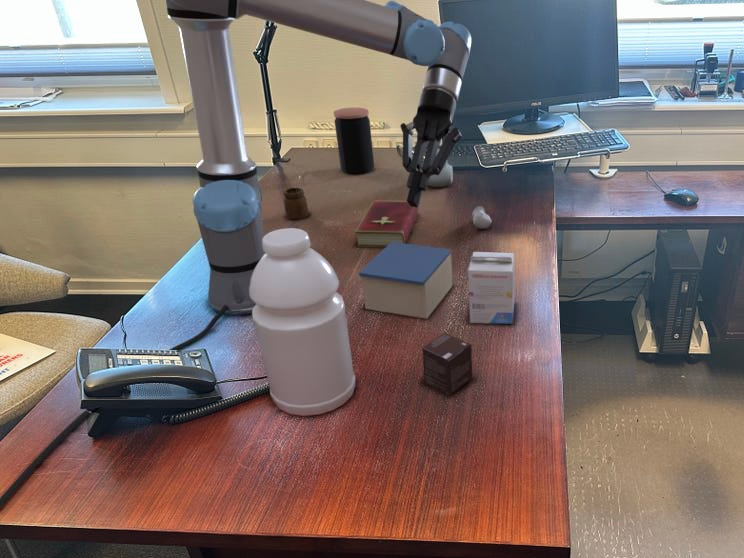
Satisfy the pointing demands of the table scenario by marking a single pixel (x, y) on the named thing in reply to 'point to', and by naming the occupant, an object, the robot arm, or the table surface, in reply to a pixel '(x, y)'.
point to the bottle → (301, 326)
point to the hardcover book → (386, 223)
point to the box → (447, 363)
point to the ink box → (491, 287)
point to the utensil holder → (295, 202)
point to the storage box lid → (405, 263)
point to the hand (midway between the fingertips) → (412, 203)
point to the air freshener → (442, 176)
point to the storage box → (408, 293)
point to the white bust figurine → (481, 218)
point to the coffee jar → (354, 140)
